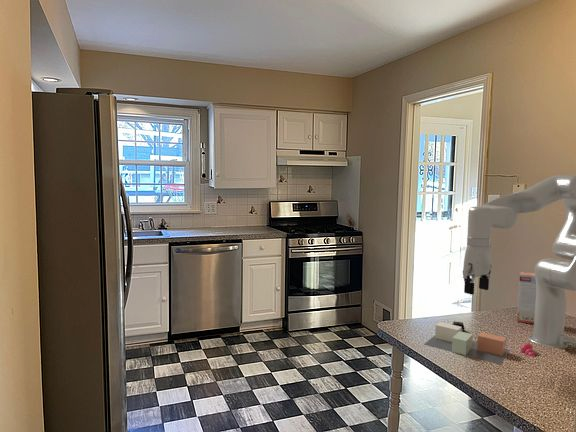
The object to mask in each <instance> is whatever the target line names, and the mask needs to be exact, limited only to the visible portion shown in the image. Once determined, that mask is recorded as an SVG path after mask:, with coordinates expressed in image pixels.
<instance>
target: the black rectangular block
mask: <svg viewBox="0 0 576 432" xmlns="http://www.w3.org/2000/svg"><path fill="white" fill-rule="evenodd" d="M452 322H453V323H452V324H451V325H456V326H460V327H462V332H465V330H466V329H465V325H464V322H461V321H455V320H454V321H452Z"/></svg>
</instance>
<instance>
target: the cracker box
mask: <svg viewBox="0 0 576 432" xmlns="http://www.w3.org/2000/svg"><path fill="white" fill-rule="evenodd" d="M518 282H519V284H518V297H517V298H518V299H517V311H516V312H517V313H516V314H517V315H516V321H517V323H518V322H519V323H527V324H532V325H534V317H535V303H536V279H535V272H526V271H520V273H519V281H518Z"/></svg>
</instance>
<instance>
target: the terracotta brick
mask: <svg viewBox="0 0 576 432" xmlns="http://www.w3.org/2000/svg"><path fill="white" fill-rule="evenodd" d="M477 342H478V343H477V350H480V351H484V352H488V353H492V354H496V355H500V356H503V354H504V353H505V349H507V348H506V346H507V337H506V336H505V337H504V336H500V335H497V334H496V335H495V334H491V333H487V332H483V331H482V332H480V333H478V335H477Z"/></svg>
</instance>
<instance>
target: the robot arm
mask: <svg viewBox="0 0 576 432" xmlns="http://www.w3.org/2000/svg"><path fill="white" fill-rule="evenodd" d="M560 200H562V201H561V202H562V204H563V206H564V209H565V213H566V215H565V216H566V217H565V221H564V223H563V225H562V227H561V229H560V231H559V233H558V234H557V236H556V238H555V240H554V242H553V243H552V247H551V251H552V253H553V255H555V256H557V257H558V258H561V259H557V258H551V257H547V258H546V257H545V258H542V259H540V260H538V261H537V262H536V264H535V267H534V273H535V279H536V303H535V317H534V324H533V330H532V331H533V332H532V334H530V335H528V338H527V339H528V341H531V342H533V343H535V344H537V345H540V346H545V347H549V348H550V347H551V348H556V349H557V348H559V349H561V348H562V349H563V348H564V349H568V348H569V344H570V345H573V346H576V338H575V337H571V336H568V335H566V331H565V324H566V323H565V321H566V311H567V309H566V308H567V293H566V291H565V290H567V291H571V292H576V174H555V175H552V176H549V177H548V178H546V179H544V180H541V181H540V182H537V183H535V184H534V185H532V186H530V187H528V188H526V189H523V190H519V191H516V192H513V193H509V194H506V195H503V196H499V197H496V198H494V199H492V200H490V201H488V202H486V203H484V204H483V205H481V206H471V207H470V208H469V209H468V216H467V217H468V218H467V219H468V220H467V237H466V248H465V252H464V258H463V259H464V260H463V270H462V275H463V276H462V278H463V282H464V288H463V289H464V290H463V291H464V294H466V295H467V294H468V295H474V294H475V279H476V277H478V279H479V281H478V289H481V290H485V291H488V290H489V286H490V278H491V277H490V276H491V273H492V270H491V269H492V267H493V265H492V264H491V247H492V233H493V228H495V229H496V228H497V229H503V230H507V229H510V228H513V227H515V226H516V224H517V223H518V221H519V215H518V214H528V213H534V212H537V211H540V210H542V209H544V208H546V207H548V206H549V205H552V204H553V203H556V202H558V201H560ZM562 259H565V260H568V261H565V260H562ZM569 260H570V261H571V262H570V261H569Z"/></svg>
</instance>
